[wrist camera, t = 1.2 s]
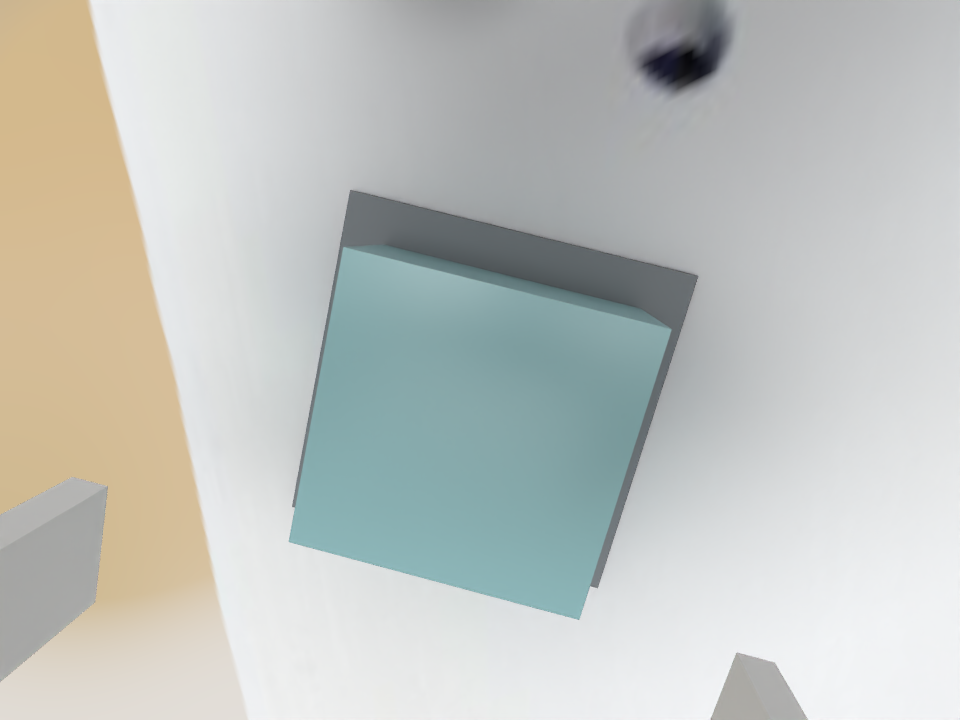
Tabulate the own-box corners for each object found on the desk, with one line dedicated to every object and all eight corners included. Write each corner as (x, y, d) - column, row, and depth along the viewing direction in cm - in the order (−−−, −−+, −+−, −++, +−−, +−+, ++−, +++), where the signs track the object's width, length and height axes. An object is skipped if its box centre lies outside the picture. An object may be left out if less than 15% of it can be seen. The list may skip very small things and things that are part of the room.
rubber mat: (696, 275, 26) (698, 276, 26) (596, 583, 30) (597, 588, 29) (352, 190, 27) (350, 190, 26) (295, 503, 30) (292, 506, 30)
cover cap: (640, 308, 26) (671, 329, 21) (569, 542, 29) (579, 619, 23) (384, 244, 27) (343, 247, 21) (336, 481, 30) (288, 541, 24)
